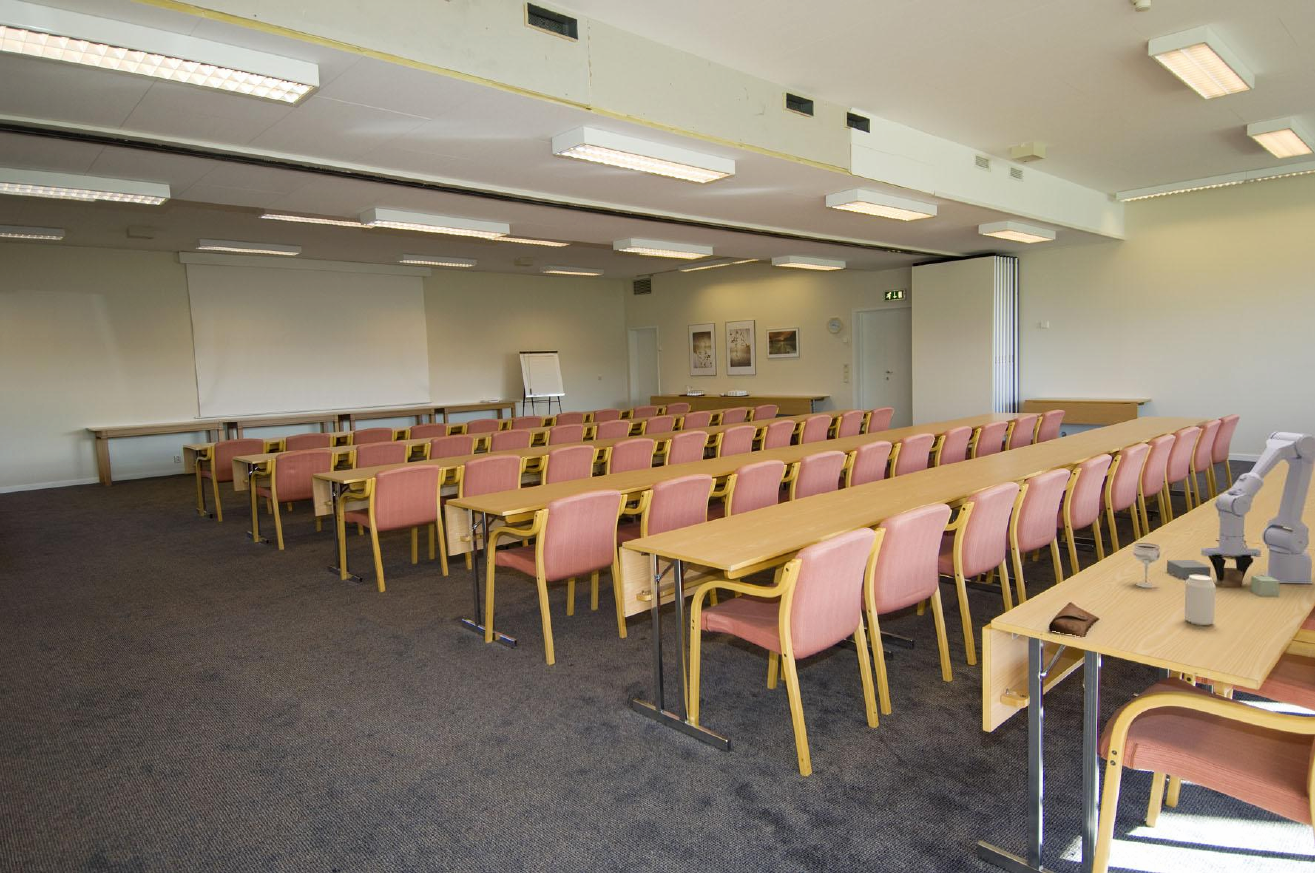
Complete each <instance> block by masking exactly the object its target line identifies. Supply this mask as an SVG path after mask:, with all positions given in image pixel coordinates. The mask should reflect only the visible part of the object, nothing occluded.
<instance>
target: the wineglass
mask: <svg viewBox="0 0 1315 873" xmlns="http://www.w3.org/2000/svg"><path fill="white" fill-rule="evenodd" d="M1133 546H1134V548H1133V550H1132V551H1133V556H1134V557H1135V558H1136V559H1137V560H1138V561H1140V562H1142V563H1143V565H1144V581H1142V582H1137V584H1135V585H1136V586H1138V587H1142V588H1151V589H1152V588H1156V587H1155V586H1156V585H1155V584H1153V583H1151V582H1147V580H1148V569H1149V567H1148V566H1149V565H1150V564H1151V563H1154V562H1156V561H1157V560H1158V559H1159V558H1160V556H1161V551H1160V548H1161V546H1160V545H1158V544H1154V543H1149V542H1148V543H1147V542H1136V543H1134V544H1133Z"/></svg>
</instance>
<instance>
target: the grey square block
mask: <svg viewBox="0 0 1315 873" xmlns="http://www.w3.org/2000/svg"><path fill="white" fill-rule="evenodd" d="M1211 570H1212V569H1211V567H1210V566H1209V565H1206V564H1204V563H1202V562H1200V561H1198V560H1195V559H1186V560H1185V559H1184V560H1183V559H1180V560H1179V559H1177V560H1175V559H1174V560H1172V559H1171V560H1170V559H1169V560H1167V561H1166V572H1167V573H1168V574H1170V575H1172V574H1173V575H1172V576H1173V577H1176V578H1178V577H1179V578H1178V579H1180V578H1181V580H1184V579H1185V580H1188V578H1189V575H1205V576H1209V577H1211Z"/></svg>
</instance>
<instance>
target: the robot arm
mask: <svg viewBox="0 0 1315 873" xmlns="http://www.w3.org/2000/svg"><path fill="white" fill-rule="evenodd" d="M1265 448H1266V449H1264V451H1263V452H1262V454H1261V456H1260V457H1259V458H1258V460H1257V461H1256V463H1255V464H1254V466H1253V468H1252V469H1251V470H1250V472H1246V473H1245V472H1244V473H1243V474H1240V476H1239V477H1238V479H1237V480H1236V481H1235V482H1234V484H1233V485H1232V486H1231V487H1230V489H1229V490H1228V491H1227V492H1225V493H1223V494H1221V495H1219V496H1218V497H1217V499H1216V502H1214V506H1215V509H1216V510H1217V516H1218V517H1219V534H1218V540H1219V542H1218V546H1217V547H1207V548H1201V550H1200V552H1201V556H1203V557H1208V559H1209V560H1210V562H1211V564H1212V567H1213V569H1214V572H1215V575H1216V576H1215V577H1216V580H1217V579H1218V580H1220V581H1223V577H1224V568H1225V566H1226V565H1225V564H1226V562H1227V560H1226V559H1225V558H1224V557H1234V556H1235V558H1234V559H1235V565H1236V567H1235V568H1236V569H1238V570H1240V571H1242V572H1243V579H1244V578H1245V576H1246V572H1247V570H1248V569H1249V568H1250V566H1251V565H1252V563H1253V562H1254V558H1252V557H1255V558H1261V557H1262V555H1261V554H1262V551H1261V550H1260V549H1258V548H1248V547H1247V548H1243V542H1244V541H1245V516H1246V514H1248V512H1250V511H1251V508H1252V503H1253V499H1254V498H1255V496H1256V495H1257V494H1258V493H1259V491H1260V490H1261V489H1262V487H1264V485H1265V484H1264V480H1263V479H1264V478H1265V477H1266V476H1267V475H1269V473H1270V472H1271V471H1272V470H1273V469H1274V468H1275V467H1276V466H1277V464H1279V463H1280V462H1281V461H1282V460H1285V462H1286V463H1287V464H1288V470H1287V474H1286V478H1285V482H1284V486H1283V490H1282V495H1281V499H1280V502H1279V503H1280V505H1279V508H1278V512H1277V516H1275V517H1273V518H1271V519H1270V520H1268V522H1267V525H1266V527H1265V528H1264V530H1263V532H1262V534H1261V535H1262V541H1263V543H1264V544H1265V545H1266V548H1267V549H1268V564H1267V565H1268V566H1267V567H1268V568H1267V573H1261V574H1260V576H1270V577H1272V578H1274V579H1276V580H1278V581H1279V584H1313V581H1312V568H1313V566H1312V565H1313V564H1312V563H1313V561H1312V560H1313V559H1312V556H1311V555H1310V553H1309V552H1308V551H1306V549H1307V548H1308V546H1309V544H1310V539H1309V532H1310V531H1309V530H1310V529H1309V527H1308V526H1307V525H1305V523H1304V522H1303V521H1302V517H1303V514H1304V509H1305V505H1306V501H1307V496H1308V492H1309V488H1310V484H1311V480H1312V476H1313V471H1314V467H1315V437H1314V436H1313V435H1312V434H1309V433H1297V432H1286V431H1281V430H1276V431H1274V432H1272V433H1271V435H1270V436H1269V437H1268V439H1267V440H1265Z"/></svg>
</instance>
